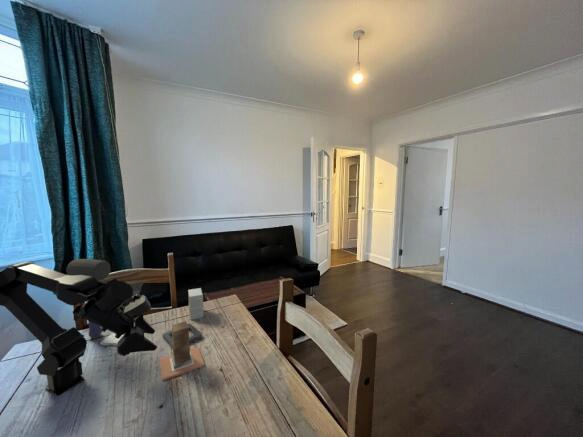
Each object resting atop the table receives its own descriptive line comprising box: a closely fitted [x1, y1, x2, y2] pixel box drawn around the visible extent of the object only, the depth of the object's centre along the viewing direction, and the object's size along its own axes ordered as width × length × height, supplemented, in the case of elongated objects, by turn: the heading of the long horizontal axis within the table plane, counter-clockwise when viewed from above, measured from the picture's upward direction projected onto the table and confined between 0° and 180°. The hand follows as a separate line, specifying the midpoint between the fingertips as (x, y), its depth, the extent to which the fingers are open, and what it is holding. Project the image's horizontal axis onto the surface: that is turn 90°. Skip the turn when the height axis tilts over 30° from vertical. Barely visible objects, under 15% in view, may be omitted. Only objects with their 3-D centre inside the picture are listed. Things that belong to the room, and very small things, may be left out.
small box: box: [187, 287, 205, 320], centre depth 110 cm, size 8×6×10 cm
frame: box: [162, 322, 203, 350], centre depth 93 cm, size 10×10×2 cm
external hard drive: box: [100, 332, 125, 347], centre depth 95 cm, size 2×8×12 cm
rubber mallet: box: [65, 258, 112, 339], centre depth 91 cm, size 12×8×30 cm, turn 80°
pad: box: [159, 346, 206, 382], centre depth 80 cm, size 12×10×1 cm
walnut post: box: [171, 320, 192, 369], centre depth 79 cm, size 5×5×12 cm
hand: (155, 340), depth 75 cm, fingers open, 9 cm apart
